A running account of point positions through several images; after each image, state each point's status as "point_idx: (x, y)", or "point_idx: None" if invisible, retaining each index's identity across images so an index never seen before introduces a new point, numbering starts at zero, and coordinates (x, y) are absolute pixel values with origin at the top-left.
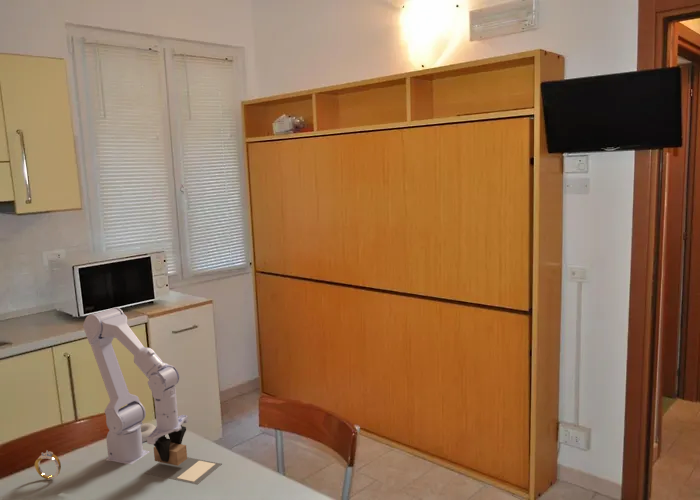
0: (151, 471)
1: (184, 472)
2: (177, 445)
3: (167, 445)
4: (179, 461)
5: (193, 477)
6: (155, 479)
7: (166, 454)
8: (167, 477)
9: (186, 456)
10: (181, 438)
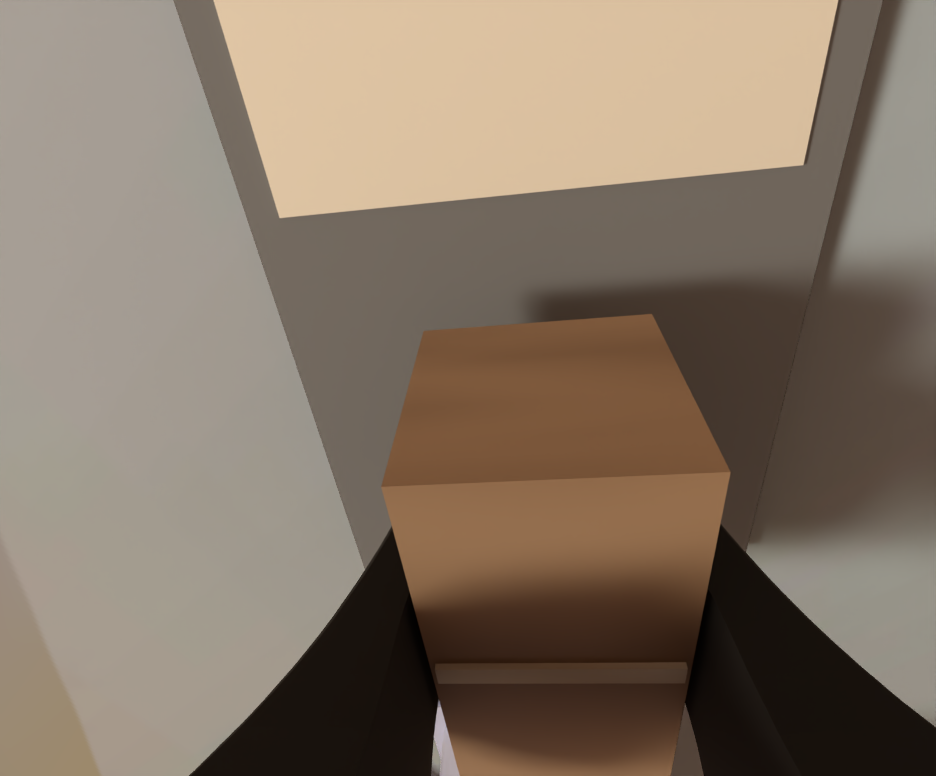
0: None
1: (631, 172)
2: (476, 601)
3: (917, 771)
4: (612, 339)
5: None
6: (797, 413)
7: (762, 574)
8: (797, 303)
9: (432, 350)
10: (329, 688)
